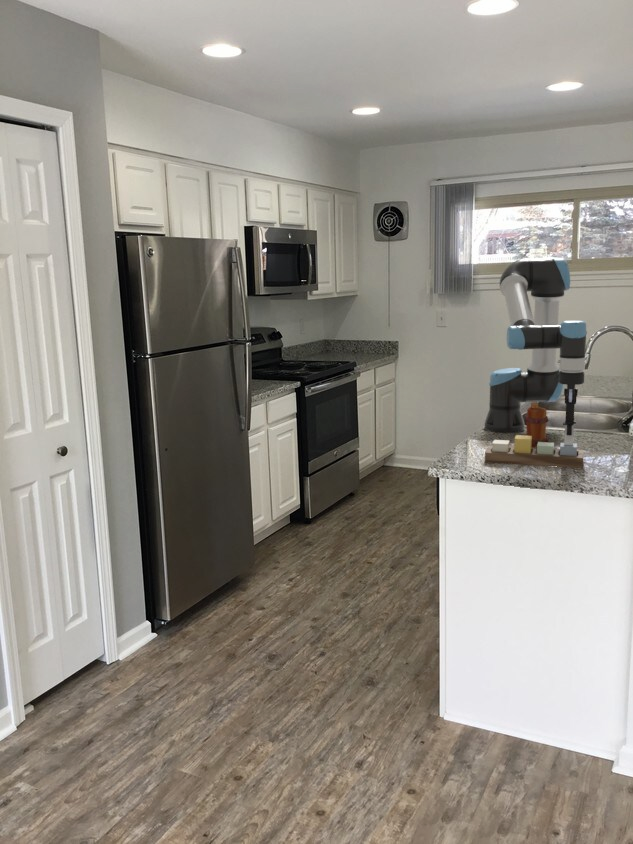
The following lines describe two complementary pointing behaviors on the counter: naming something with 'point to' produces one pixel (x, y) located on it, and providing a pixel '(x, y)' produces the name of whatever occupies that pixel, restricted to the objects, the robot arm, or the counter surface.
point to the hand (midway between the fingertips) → (568, 444)
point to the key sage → (545, 448)
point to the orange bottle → (536, 424)
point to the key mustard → (523, 444)
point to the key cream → (501, 445)
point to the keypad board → (534, 458)
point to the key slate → (568, 449)
